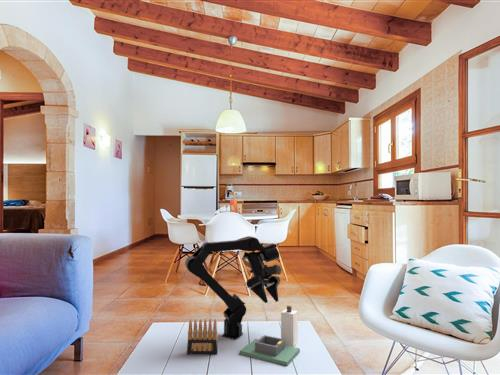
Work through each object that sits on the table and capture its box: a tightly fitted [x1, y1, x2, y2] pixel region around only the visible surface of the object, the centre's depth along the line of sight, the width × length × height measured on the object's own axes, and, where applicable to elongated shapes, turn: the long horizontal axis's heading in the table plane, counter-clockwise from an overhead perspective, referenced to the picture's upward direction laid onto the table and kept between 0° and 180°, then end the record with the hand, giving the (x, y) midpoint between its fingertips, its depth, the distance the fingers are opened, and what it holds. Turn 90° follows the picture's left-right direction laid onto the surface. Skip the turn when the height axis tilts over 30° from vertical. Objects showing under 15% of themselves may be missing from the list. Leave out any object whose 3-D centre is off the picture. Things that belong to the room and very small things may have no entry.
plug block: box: [280, 305, 298, 347], centre depth 126 cm, size 5×4×14 cm
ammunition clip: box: [186, 318, 218, 356], centre depth 117 cm, size 11×2×12 cm, turn 90°
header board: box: [239, 334, 301, 367], centre depth 118 cm, size 18×12×4 cm, turn 62°
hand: (272, 302), depth 130 cm, fingers open, 9 cm apart
